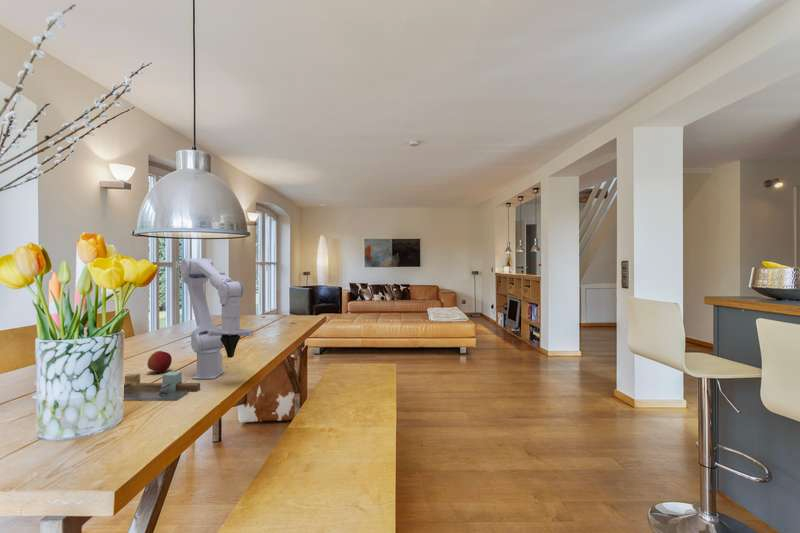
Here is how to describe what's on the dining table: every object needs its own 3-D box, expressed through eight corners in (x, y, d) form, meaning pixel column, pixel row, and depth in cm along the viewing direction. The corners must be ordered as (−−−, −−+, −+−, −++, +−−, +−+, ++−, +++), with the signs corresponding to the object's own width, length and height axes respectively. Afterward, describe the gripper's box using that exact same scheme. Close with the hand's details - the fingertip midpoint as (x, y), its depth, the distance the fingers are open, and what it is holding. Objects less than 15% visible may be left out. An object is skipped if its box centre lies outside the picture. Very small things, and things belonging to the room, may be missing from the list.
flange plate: (117, 392, 128) (117, 390, 128) (188, 392, 129) (188, 390, 129) (102, 400, 121) (102, 397, 121) (176, 400, 122) (176, 397, 122)
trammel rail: (126, 388, 132) (126, 373, 132) (200, 388, 133) (200, 373, 133) (109, 397, 124) (109, 380, 124) (188, 396, 125) (188, 380, 125)
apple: (175, 372, 152) (175, 350, 152) (151, 376, 146) (151, 354, 146) (167, 368, 157) (167, 347, 157) (144, 372, 151) (144, 351, 151)
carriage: (169, 387, 133) (169, 371, 133) (182, 387, 133) (182, 371, 133) (154, 396, 124) (154, 379, 124) (167, 396, 125) (167, 379, 124)
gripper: (203, 318, 133) (203, 359, 133) (248, 318, 133) (248, 359, 133) (212, 315, 140) (212, 354, 140) (255, 315, 140) (255, 354, 140)
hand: (230, 357), depth 137 cm, fingers closed
